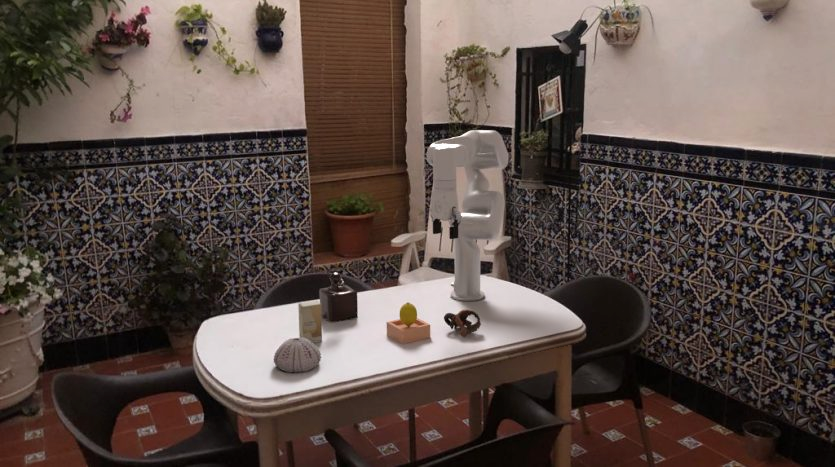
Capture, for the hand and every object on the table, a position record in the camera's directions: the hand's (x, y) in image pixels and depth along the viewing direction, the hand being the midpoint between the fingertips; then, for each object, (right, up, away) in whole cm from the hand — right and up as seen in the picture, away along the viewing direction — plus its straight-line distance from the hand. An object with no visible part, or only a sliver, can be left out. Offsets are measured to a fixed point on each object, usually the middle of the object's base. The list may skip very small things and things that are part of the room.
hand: (445, 236), depth 226 cm
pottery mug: (+5, -31, -8) cm, 32 cm away
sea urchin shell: (-43, -37, -32) cm, 65 cm away
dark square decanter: (-36, -28, +7) cm, 46 cm away
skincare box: (-42, -33, -14) cm, 55 cm away
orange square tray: (-12, -32, -11) cm, 36 cm away
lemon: (-12, -29, -12) cm, 33 cm away
